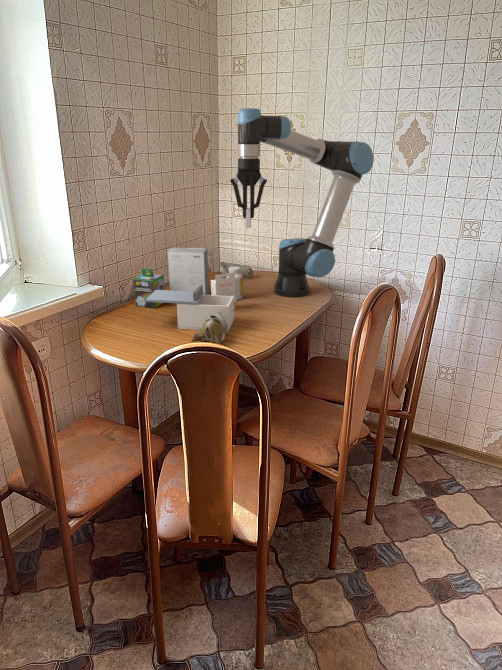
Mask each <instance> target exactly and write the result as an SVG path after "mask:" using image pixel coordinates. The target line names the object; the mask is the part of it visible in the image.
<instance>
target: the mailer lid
mask: <svg viewBox="0 0 502 670" xmlns="http://www.w3.org/2000/svg"><path fill="white" fill-rule="evenodd" d="M203 295H204V292H203V285H199V286H198V288H197V289H196V290H195V291H171V290H170V289H169V290H168V289H165V290H155V291H154V292H153V293H152V294H151V295H150V296H149V297H148V298H147V299H146V302H161V303H162V304H165V303H167V304H168V303H169V304H177V303H182V304H197V303H198V302H199V300H200V299H201V298H202V296H203Z"/></svg>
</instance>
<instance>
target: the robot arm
mask: <svg viewBox="0 0 502 670" xmlns="http://www.w3.org/2000/svg"><path fill="white" fill-rule="evenodd" d="M261 112H262V111H261V109H260V108H257V107H256V108H255V107H254V108H251V107H246V108H244V107H243V108H240V109H238V113H237V114H238V115H237V157H239V158H238V159H237V172H236V176H233V178H230V181H229V182H230V183H231V185H232V188H233V191H234V194H235V199H236V203H237V207H240V208H241V209H242V217H243V219H245V229H251V228H252V219H254V217H255V209H256V208H259V206H260V205H261V200H262V196H263V193H264V188H265V185H266V184H267V182H268V179H267V178H264V177H263V176H262V174H261V166H260V165H261V160H260V158H259V157H261V143H263V144H265V145H269V146H271V147H274V148H278V149H280V150H283V151H286V152H289V153H291V154H294V155H297V156H300V157H303V158H305V159H308V160H309V162H310V163H312V164H314V165H316V166H319V167H322V168H324V169H326V170H328V171H331V173H332V175H333V178H332V181H331V185H330V186H329V189H328V192H327V195H326V197H325V200H324V202H323V206H322V208H321V211H320V213H319V216H318V219H317V222H316V224H315V227H314V229H313V232H312V234H311V235H310V236H308V237H307V238H304V237H302V238H299V237H297V238H295V237H294V238H286V239H282V240H280V241H279V245H278V246H279V248H278V276H277V277H276V281H275V283H274V287H273V292H274V294H276V295H278V296H281V297H288V298H296V297H297V298H298V297H303V296H304V297H305V296H307V295H309V294H310V286H309V281H308V279H307V278H308V277H307V275H308V276H310V277H313V278H323V277H325V276H327V275H329V274H330V273H331V272H332V270H333V268H334V267H335V264H336V259H335V257H336V256H335V254H334V250H335V245H334V243H333V241H334V239H335V237H336V234H337V232H338V229H339V227H340V223H341V222H342V218H343V215H344V213H345V211H346V208H347V205H348V202H349V200H350V197H351V195H352V192H353V189H354V188H355V185H356V184H359V183H360V182H361V179H362V177H363V176H364V175H366V174H368V173H370V171H371V170H372V168H373V166H374V161H375V160H374V159H375V157H374V153H373V149H372V148H371V145H369V144H368V143H366V142H365V141H364V142H363V141H357V140H355V141H345V140H344V141H341V140H340V141H339V140H337V141H334V140H325V139H322V138H316V139H314V138H312V137H310V136H306V135H304V134H302V133H300V132H297V131H294V130H292V123H291V121H290V118H289V117H287V116H285V115H283V116H282V115H263V114H261ZM238 182H239V183H240V184H241V185H242V198H241V193H240V189H239V184H238ZM258 182H259V184H260V185H259V188H258V193H257V196H256V200H255V187H256V185H257V184H258ZM248 186H249V190H250V191H249V193H250V195H249V202H250V203H249V205H250V206H249V207H248Z"/></svg>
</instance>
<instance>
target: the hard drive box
mask: <svg viewBox="0 0 502 670" xmlns="http://www.w3.org/2000/svg"><path fill="white" fill-rule="evenodd" d="M166 256H167V269H168V270H167V272H168V286H169V287H168V288H169V290H171V291H195V290H196V289H197V288H198V286H199V285H203V292H204V295H210V284H209V283H210V282H209V260H208V259H209V258H208V248H207V247H171V248H170V249H168V250H167V251H166Z"/></svg>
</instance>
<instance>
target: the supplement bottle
mask: <svg viewBox="0 0 502 670" xmlns="http://www.w3.org/2000/svg"><path fill="white" fill-rule="evenodd" d="M229 273H235V281H236V301H237V300H241V299H243V296H244V295H243V294H244V293H243V291H244V288H243V286H244V285H243V284H244V282H243V281H244V280H243V279H244V276H242V274H241V273H240V267H229ZM225 278H229V277H228V276H225Z"/></svg>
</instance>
